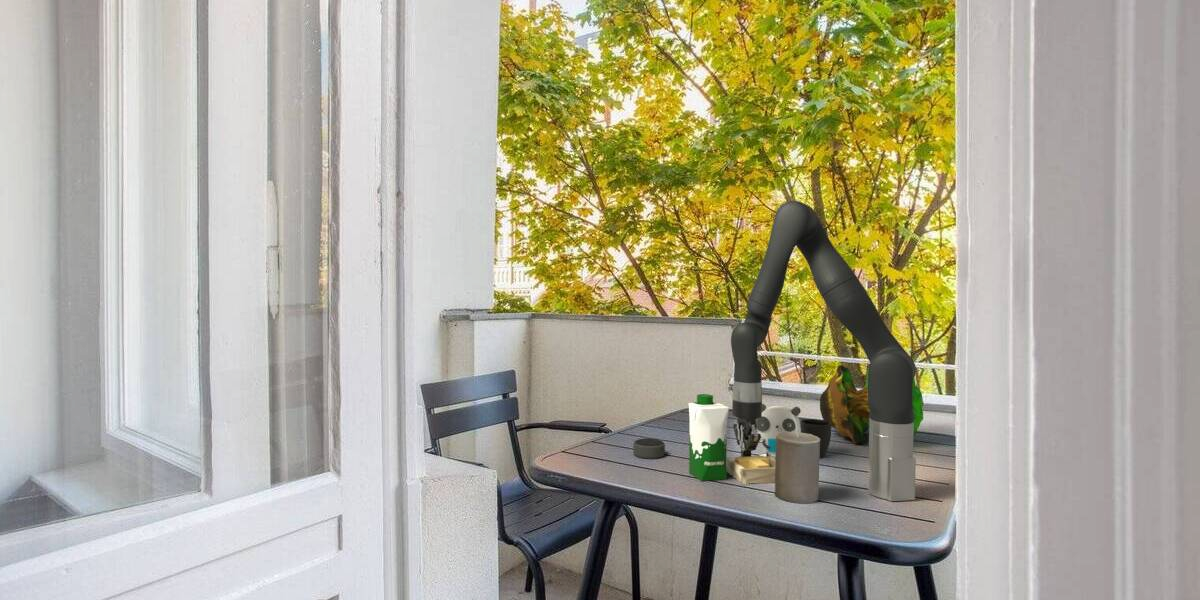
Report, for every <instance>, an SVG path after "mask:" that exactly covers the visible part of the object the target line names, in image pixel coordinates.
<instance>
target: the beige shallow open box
mask: <svg viewBox="0 0 1200 600" xmlns="http://www.w3.org/2000/svg"><path fill="white" fill-rule="evenodd" d="M766 458H768V459H769V467H768V468H746V469H745V468H743V467H742V466H741V465H739V464H738V463H737V462H735V461H734V459H733V458H731V457H726V469H727V474H729V475H730V476H731V475H732V477H733V478H734V479H735V478H736V479H737V482H739V481H740V482H741V483H742V484H741V483H740V482H739V483H740V484H741V485H752V484H751V483H760V484H775V459H774V458H772V457H771V456H766ZM736 479H735V480H736ZM749 483H750V484H749Z"/></svg>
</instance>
